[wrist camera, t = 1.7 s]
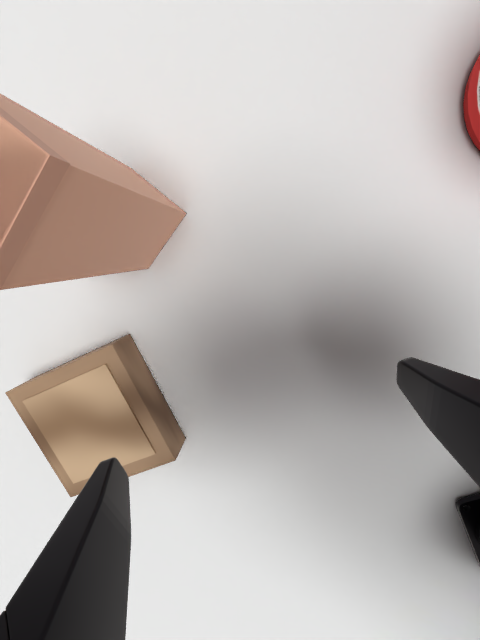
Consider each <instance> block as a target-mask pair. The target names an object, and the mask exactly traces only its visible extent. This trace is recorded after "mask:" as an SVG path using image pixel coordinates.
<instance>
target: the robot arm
mask: <svg viewBox="0 0 480 640" xmlns="http://www.w3.org/2000/svg"><path fill="white" fill-rule="evenodd" d="M397 384H398V386H399V388H400V389H401V391H402V392H403V394H404V395H405V396H406V398H407V399H408V401H409V402H410V403H411V405H412V406H413V408H414V409H415V410H416V412H417V413H418V415H419V416H420V417H421V419H422V420H423V422H424V423H425V424H426V426H427V427H428V428H429V429H430V431H431V432H432V433H433V434H434V435H435V437H436V438H437V439H438V440H439V441H440V442H441V443H442V445H443V446H444V447H445V448H446V449H447V450H448V451H449V453H450V454H451V455H452V456H453V457H454V458H455V459H456V461H457V462H458V463H459V464H460V465H461V466H462V467H463V469H464V470H465V471H466V472H467V473H468V474H469V475H470V477H471V478H472V479H473V480H474V481H475V482H476V483H477V485H478V486H479V487H480V380H479V379H476V378H473V377H470V376H467V375H464V374H461V373H458V372H455V371H452V370H449V369H446V368H443V367H440V366H437V365H434V364H431V363H428V362H425V361H422V360H419V359H416V358H412V357H410V358H406V359H404V360H401V361H399V362H398V365H397ZM466 505H467V506H466ZM464 506H465V507H464ZM456 507H457V510H458V512H459V515H460V517H461V520H462V522H463V525H464V527H465V530H466V533H467V535H468V538H469V540H470V543H471V545H472V548H473V551H474V553H475V556H476V558H477V561H478V563H479V566H480V493H479V494H475V495H471V496H468V497H464V498H461V499H458V500H457V502H456ZM130 550H131V518H130V496H129V479H128V475H127V473H126V471H125V470H124V468H123V467H122V465H121V464H120V462H119V461H118V459H117V458H115V457H112V458H110V459H107V460H104V461H101V462H100V463H99V464H98V466H97V467H96V469H95V471H94V472H93V474H92V475H91V477H90V478H89V480H88V481H87V483H86V484H85V486H84V487H83V489H82V491H81V492H80V494H79V495H78V497H77V498H76V500H75V501H74V503H73V504H72V506H71V508H70V509H69V511H68V512H67V514H66V515H65V517H64V518H63V520H62V521H61V523H60V524H59V526H58V528H57V529H56V531H55V532H54V534H53V535H52V537H51V538H50V540H49V541H48V543H47V545H46V546H45V548H44V549H43V551H42V552H41V554H40V555H39V557H38V558H37V560H36V561H35V563H34V565H33V566H32V568H31V569H30V571H29V572H28V574H27V575H26V577H25V578H24V580H23V581H22V583H21V585H20V586H19V588H18V589H17V591H16V592H15V594H14V595H13V597H12V598H11V600H10V602H9V603H8V605H7V606H6V611H3V612H2V614H1V615H0V640H125V634H126V618H127V601H128V584H129V567H130Z"/></svg>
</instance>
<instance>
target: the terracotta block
mask: <svg viewBox="0 0 480 640" xmlns="http://www.w3.org/2000/svg"><path fill="white" fill-rule="evenodd" d="M186 214H187V213H185V212H184V211H183V210H182V209H180V208H179V207H178V206H177V205H175V204H174V203H173V202H172V201H171V200H169V199H168V198H167V197H166V196H164V195H163V194H162V193H161V192H160V191H158V190H157V189H156V188H155V187H153V186H152V185H151V184H150V183H149V182H147V181H146V180H145V179H144V178H142V177H141V176H140V175H139V174H137V173H136V172H135V171H134V170H133V169H131V168H130V167H128V166H126V165H125V164H123V163H121V162H119V161H118V160H116V159H114V158H112V157H111V156H109V155H107V154H105V153H104V152H102V151H100V150H98V149H97V148H95V147H93V146H91V145H89V144H88V143H86V142H84V141H82V140H81V139H79V138H77V137H75V136H74V135H72V134H70V133H68V132H67V131H65V130H63V129H61V128H60V127H58V126H56V125H54V124H53V123H51V122H49V121H47V120H46V119H44V118H42V117H40V116H39V115H37V114H35V113H33V112H32V111H30V110H28V109H26V108H25V107H23V106H21V105H19V104H18V103H16V102H14V101H12V100H11V99H9V98H7V97H5V96H4V95H2V94H0V290H3V289H10V288H17V287H24V286H31V285H38V284H45V283H52V282H59V281H66V280H73V279H80V278H87V277H93V276H100V275H107V274H114V273H121V272H128V271H135V270H142V269H148V268H149V267H150V266H151V264H152V263H153V261H154V260H155V258H156V257H157V255H158V254H159V253H160V251H161V250H162V248H163V247H164V245H165V244H166V242H167V241H168V240H169V238H170V237H171V235H172V234H173V232H174V231H175V229H176V228H177V227H178V225H179V224H180V222H181V221H182V219H183V218H184V216H185V215H186Z"/></svg>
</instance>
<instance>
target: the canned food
mask: <svg viewBox="0 0 480 640" xmlns="http://www.w3.org/2000/svg"><path fill="white" fill-rule="evenodd" d="M463 107H464V120H465V123H466V127H467V131H468V133H469V135H470V137H471V139H472V141H473V143H474V145H475V146H476V147H477V148H478V149H479V151H480V55H479V57H478V59H477V61H476V63H475V65H474V67H473V69H472V71H471V73H470V75H469V78H468V82H467V85H466V88H465V95H464V102H463Z"/></svg>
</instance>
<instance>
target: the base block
mask: <svg viewBox="0 0 480 640" xmlns="http://www.w3.org/2000/svg"><path fill="white" fill-rule="evenodd" d="M6 395H7V396H8V398H9V399H10V401H11V403H12V404H13V406H14V407H15V409H16V411H17V412H18V414H19V415H20V417H21V419H22V420H23V422H24V423H25V425H26V427H27V428H28V430H29V431H30V433H31V435H32V436H33V438H34V439H35V441H36V443H37V444H38V446H39V447H40V449H41V451H42V452H43V454H44V455H45V457H46V459H47V460H48V462H49V463H50V465H51V467H52V468H53V470H54V471H55V473H56V475H57V476H58V478H59V479H60V481H61V483H62V484H63V486H64V487H65V489H66V491H67V492H68V494H69V495H70V497H73V496H76V495H78V494H80V492H81V491H82V489H83V487H84V486H85V484H86V483H87V481H88V480H89V478H90V477H91V475H92V474H93V472H94V471H95V469H96V467H97V466H98V464H99V463H100V462H101V461H104V460H107V459H110V458H112V457H115V458H117V459H118V461H119V462H120V464H121V465H122V467H123V468H124V470H125V471H126V473H127V475H128V477H129V476H132V475H135V474H138V473H141V472H144V471H146V470H149V469H152V468H155V467H158V466H161V465H164V464H166V463H169V462H172V461H175V460H176V458H177V456H178V454H179V452H180V450H181V448H182V445H183V443H184V441H185V439H186V438H185V436H184V434H183V433H182V431H181V429H180V427H179V425H178V423H177V421H176V419H175V418H174V416H173V414H172V412H171V410H170V408H169V406H168V405H167V403H166V401H165V399H164V397H163V395H162V393H161V391H160V390H159V388H158V386H157V384H156V382H155V380H154V378H153V376H152V375H151V373H150V371H149V369H148V367H147V365H146V363H145V362H144V360H143V358H142V356H141V354H140V352H139V350H138V348H137V347H136V345H135V343H134V341H133V339H132V337H131V335H130V334H128V335H126V336H124V337H122V338H120V339H117V340H115V341H113V342H111V343H109V344H106V345H104V346H102V347H100V348H98V349H96V350H93V351H91V352H89V353H87V354H85V355H82V356H80V357H78V358H76V359H74V360H72V361H69V362H67V363H65V364H63V365H61V366H58V367H56V368H54V369H52V370H50V371H48V372H45V373H43V374H41V375H39V376H37V377H34V378H32V379H30V380H29V381H27V382H25V383H23V384H21V385H19V386H17V387H15V388H13V389H11V390H10V391H8V392H6Z"/></svg>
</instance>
